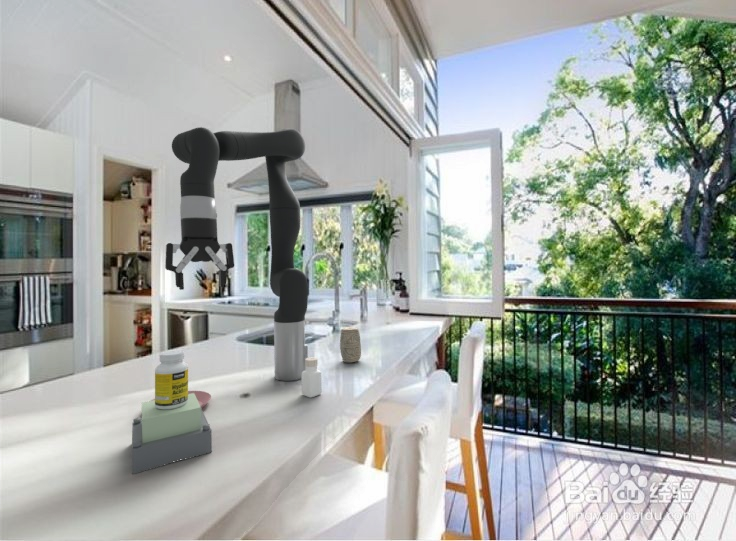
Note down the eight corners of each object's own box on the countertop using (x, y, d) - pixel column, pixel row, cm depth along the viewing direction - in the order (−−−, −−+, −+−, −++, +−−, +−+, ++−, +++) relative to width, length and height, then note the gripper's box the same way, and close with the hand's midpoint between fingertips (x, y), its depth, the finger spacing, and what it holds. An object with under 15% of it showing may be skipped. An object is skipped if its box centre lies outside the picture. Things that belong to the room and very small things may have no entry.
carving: (339, 359, 127) (339, 326, 126) (360, 358, 127) (360, 326, 127) (340, 364, 120) (339, 329, 120) (362, 363, 121) (361, 329, 121)
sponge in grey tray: (201, 427, 73) (201, 389, 73) (211, 452, 63) (211, 408, 63) (132, 443, 67) (132, 401, 67) (132, 474, 57) (131, 425, 57)
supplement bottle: (173, 411, 62) (173, 356, 62) (147, 409, 63) (147, 355, 63) (194, 400, 67) (194, 349, 67) (170, 398, 68) (170, 348, 68)
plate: (167, 398, 91) (167, 390, 91) (221, 398, 90) (221, 390, 90) (127, 422, 76) (127, 413, 76) (191, 422, 76) (191, 413, 76)
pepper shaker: (300, 395, 91) (300, 358, 91) (313, 391, 94) (312, 356, 94) (310, 398, 89) (309, 361, 89) (322, 394, 92) (322, 358, 92)
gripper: (227, 221, 88) (230, 285, 88) (161, 218, 79) (165, 289, 80) (235, 217, 81) (238, 286, 82) (164, 214, 73) (168, 291, 74)
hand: (202, 288), depth 81 cm, fingers open, 8 cm apart
